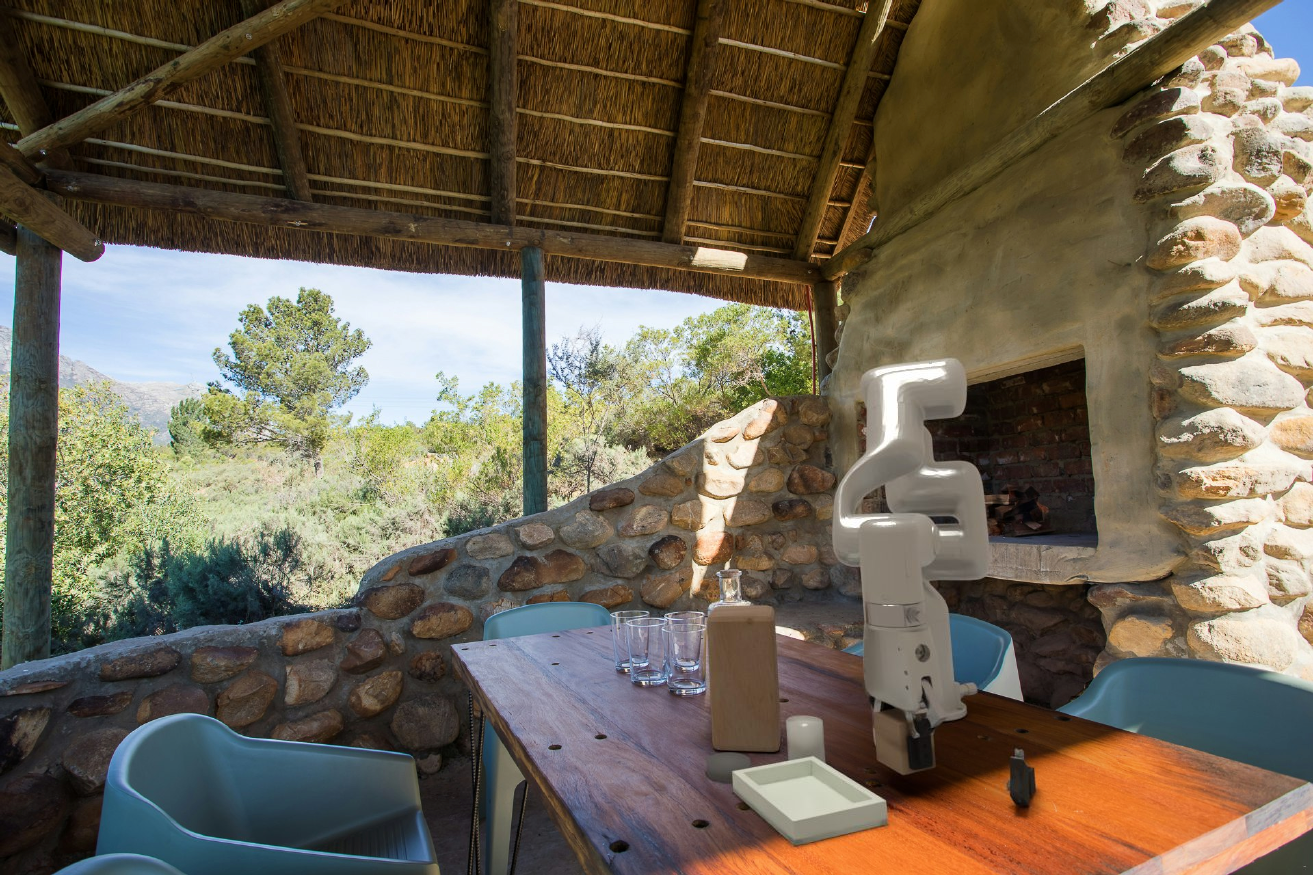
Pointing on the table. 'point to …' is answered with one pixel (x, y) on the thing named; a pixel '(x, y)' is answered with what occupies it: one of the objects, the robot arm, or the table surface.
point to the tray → (809, 800)
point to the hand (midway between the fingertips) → (905, 757)
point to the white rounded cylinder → (805, 737)
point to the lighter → (1020, 780)
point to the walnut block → (895, 740)
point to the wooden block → (744, 678)
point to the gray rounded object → (726, 766)
